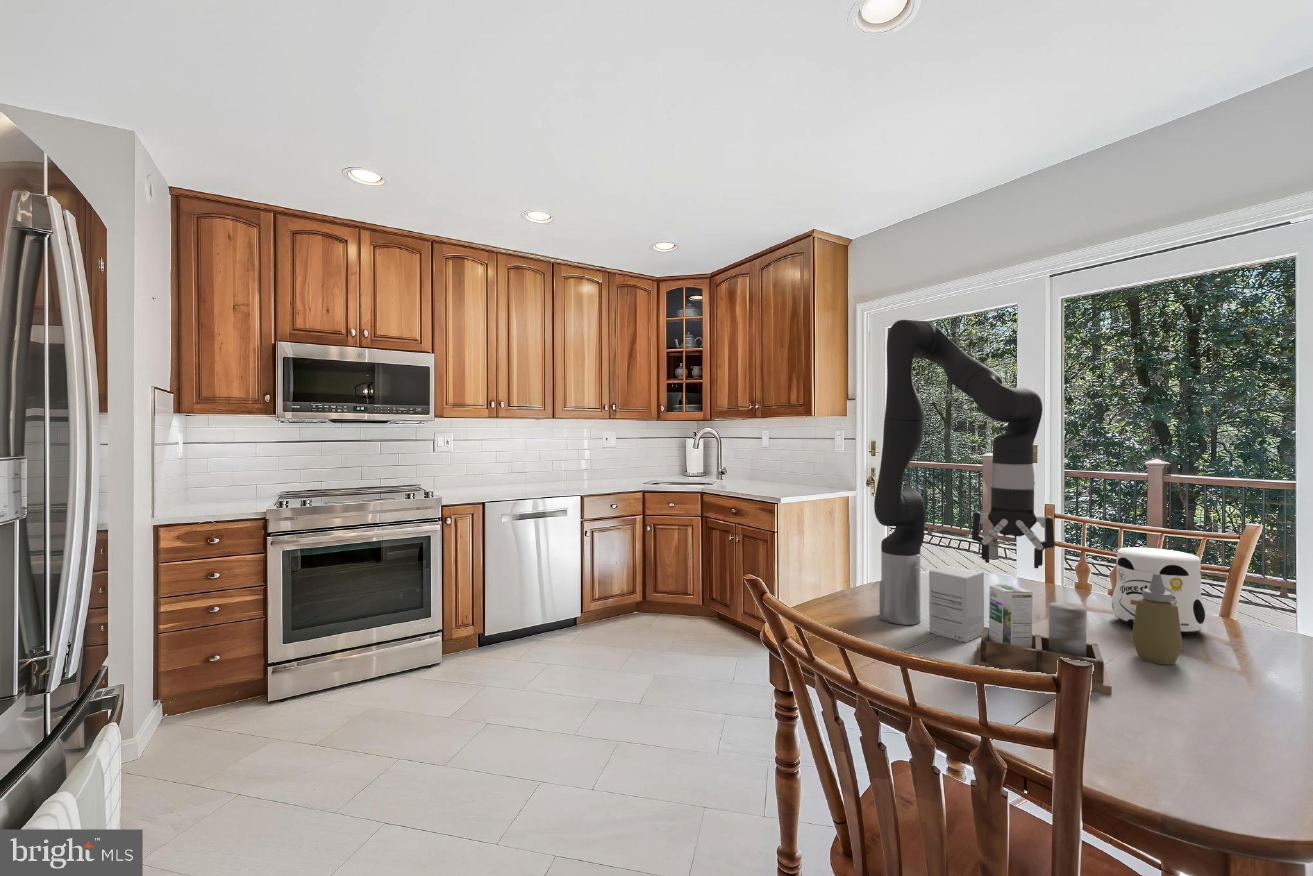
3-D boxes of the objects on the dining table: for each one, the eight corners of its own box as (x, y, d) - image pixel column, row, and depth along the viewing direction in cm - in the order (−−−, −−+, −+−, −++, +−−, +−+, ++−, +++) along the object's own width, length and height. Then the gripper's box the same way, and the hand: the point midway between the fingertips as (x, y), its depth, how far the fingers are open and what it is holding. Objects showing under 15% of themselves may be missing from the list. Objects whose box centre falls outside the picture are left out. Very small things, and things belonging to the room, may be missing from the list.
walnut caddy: (974, 669, 117) (974, 602, 117) (977, 649, 128) (977, 588, 127) (1111, 694, 106) (1111, 621, 106) (1103, 671, 116) (1104, 604, 116)
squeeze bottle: (1170, 655, 124) (1171, 571, 124) (1190, 670, 116) (1191, 580, 116) (1124, 650, 127) (1125, 568, 126) (1141, 664, 119) (1142, 577, 119)
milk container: (1126, 634, 137) (1126, 558, 136) (1101, 612, 153) (1102, 544, 152) (1221, 644, 130) (1222, 564, 130) (1185, 620, 146) (1186, 549, 146)
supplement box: (947, 624, 144) (947, 564, 144) (985, 635, 137) (985, 571, 137) (927, 632, 139) (927, 569, 139) (965, 643, 132) (966, 577, 131)
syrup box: (987, 653, 122) (987, 584, 122) (1013, 652, 122) (1014, 583, 122) (1005, 664, 116) (1005, 591, 116) (1033, 663, 117) (1033, 591, 116)
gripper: (971, 485, 119) (970, 564, 120) (1055, 489, 112) (1054, 573, 112) (973, 482, 125) (973, 557, 126) (1053, 486, 118) (1052, 565, 118)
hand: (1011, 564), depth 119 cm, fingers open, 8 cm apart
